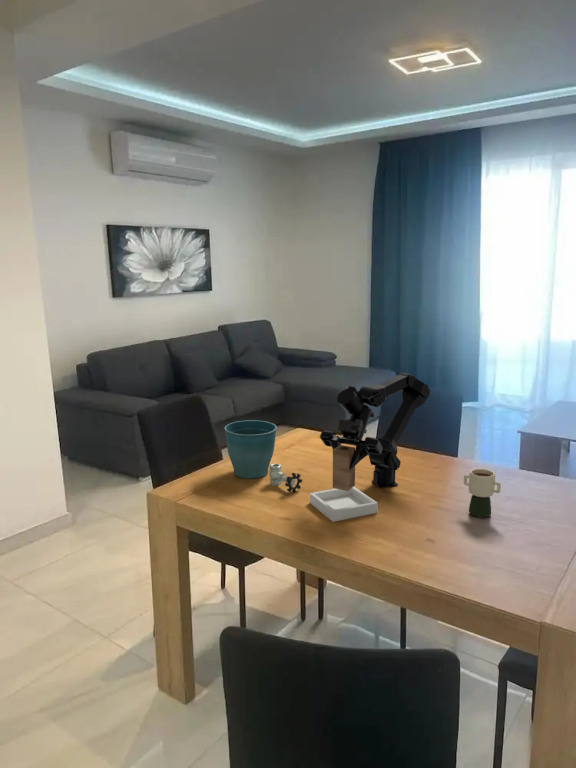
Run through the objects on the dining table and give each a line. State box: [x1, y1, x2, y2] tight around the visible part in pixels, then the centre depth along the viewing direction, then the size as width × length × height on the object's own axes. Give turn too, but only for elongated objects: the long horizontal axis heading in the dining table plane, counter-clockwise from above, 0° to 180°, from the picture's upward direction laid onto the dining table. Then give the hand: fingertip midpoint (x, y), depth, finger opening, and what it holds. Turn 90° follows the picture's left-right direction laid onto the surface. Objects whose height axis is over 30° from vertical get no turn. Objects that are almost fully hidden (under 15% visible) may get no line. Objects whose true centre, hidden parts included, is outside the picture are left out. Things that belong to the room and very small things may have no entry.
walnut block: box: [332, 444, 356, 491], centre depth 173 cm, size 5×5×12 cm
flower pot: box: [224, 419, 278, 479], centre depth 203 cm, size 18×18×17 cm
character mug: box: [463, 468, 502, 518], centre depth 169 cm, size 11×7×13 cm, turn 50°
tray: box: [309, 486, 379, 523], centre depth 175 cm, size 15×15×3 cm
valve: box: [268, 463, 303, 494], centre depth 191 cm, size 7×7×12 cm
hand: (342, 467), depth 171 cm, fingers closed on walnut block, 5 cm apart
